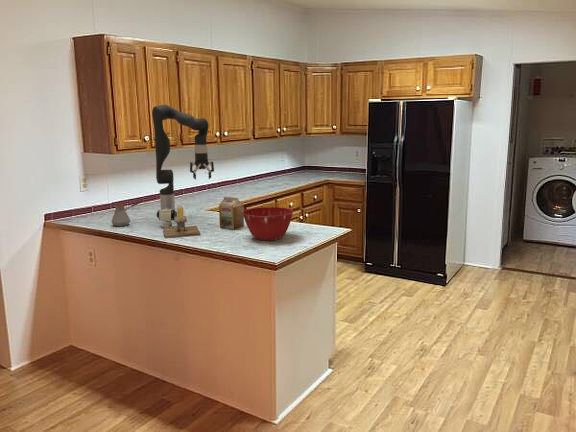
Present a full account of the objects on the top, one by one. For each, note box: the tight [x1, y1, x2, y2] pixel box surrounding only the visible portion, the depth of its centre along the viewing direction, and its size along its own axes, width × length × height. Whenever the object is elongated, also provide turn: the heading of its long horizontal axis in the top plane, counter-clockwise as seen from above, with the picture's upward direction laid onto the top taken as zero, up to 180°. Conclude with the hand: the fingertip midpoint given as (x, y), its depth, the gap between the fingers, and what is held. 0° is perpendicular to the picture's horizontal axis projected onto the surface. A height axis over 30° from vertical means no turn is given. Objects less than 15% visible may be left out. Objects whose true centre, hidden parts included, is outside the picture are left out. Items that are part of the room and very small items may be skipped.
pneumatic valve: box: [156, 208, 178, 228], centre depth 314 cm, size 6×12×12 cm, turn 79°
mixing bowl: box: [242, 206, 294, 242], centre depth 284 cm, size 28×28×15 cm
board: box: [162, 222, 201, 239], centre depth 298 cm, size 20×20×6 cm
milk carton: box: [218, 196, 245, 231], centre depth 309 cm, size 11×11×19 cm
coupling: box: [174, 204, 188, 224], centre depth 297 cm, size 7×11×9 cm, turn 15°
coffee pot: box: [111, 199, 145, 228], centre depth 322 cm, size 21×12×15 cm, turn 120°
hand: (202, 179), depth 306 cm, fingers open, 8 cm apart
